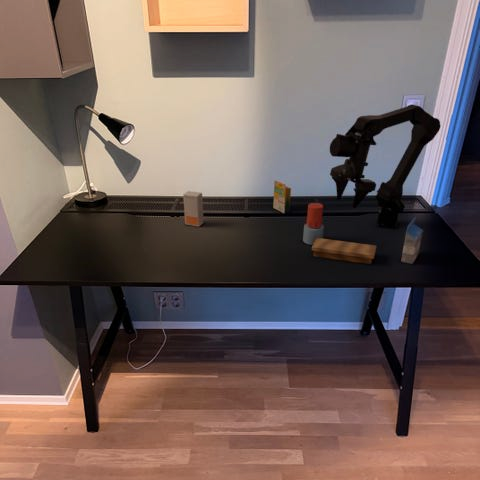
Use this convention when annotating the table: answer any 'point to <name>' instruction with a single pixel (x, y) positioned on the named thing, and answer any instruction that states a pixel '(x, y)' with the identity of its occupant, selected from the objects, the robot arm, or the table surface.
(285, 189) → the crayon box
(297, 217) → the table surface
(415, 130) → the robot arm
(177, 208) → the table surface
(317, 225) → the red cylinder
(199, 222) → the cosmetic box
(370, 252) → the brown long block
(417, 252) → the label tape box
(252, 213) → the table surface
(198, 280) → the table surface
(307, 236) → the light gray cylinder
